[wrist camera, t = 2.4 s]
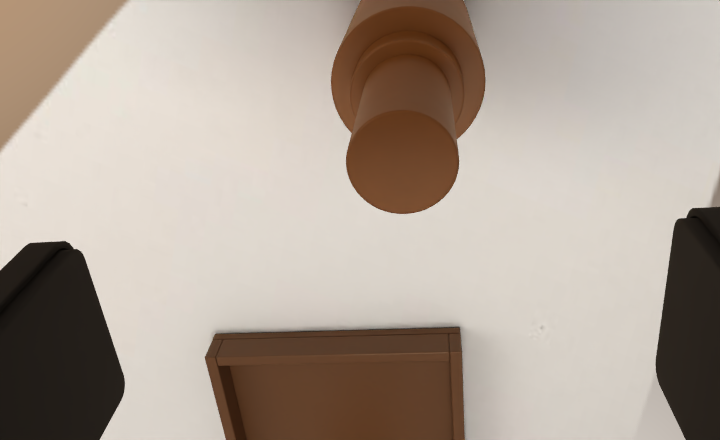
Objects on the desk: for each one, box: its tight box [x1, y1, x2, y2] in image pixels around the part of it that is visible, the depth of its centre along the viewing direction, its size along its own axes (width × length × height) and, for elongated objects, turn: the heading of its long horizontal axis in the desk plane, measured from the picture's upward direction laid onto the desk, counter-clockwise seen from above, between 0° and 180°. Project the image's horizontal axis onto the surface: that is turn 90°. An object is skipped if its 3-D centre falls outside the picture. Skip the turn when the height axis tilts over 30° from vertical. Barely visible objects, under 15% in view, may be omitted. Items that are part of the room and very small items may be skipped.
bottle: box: [331, 0, 485, 214], centre depth 22 cm, size 5×5×14 cm
